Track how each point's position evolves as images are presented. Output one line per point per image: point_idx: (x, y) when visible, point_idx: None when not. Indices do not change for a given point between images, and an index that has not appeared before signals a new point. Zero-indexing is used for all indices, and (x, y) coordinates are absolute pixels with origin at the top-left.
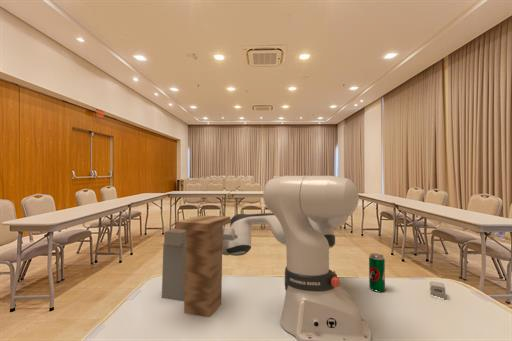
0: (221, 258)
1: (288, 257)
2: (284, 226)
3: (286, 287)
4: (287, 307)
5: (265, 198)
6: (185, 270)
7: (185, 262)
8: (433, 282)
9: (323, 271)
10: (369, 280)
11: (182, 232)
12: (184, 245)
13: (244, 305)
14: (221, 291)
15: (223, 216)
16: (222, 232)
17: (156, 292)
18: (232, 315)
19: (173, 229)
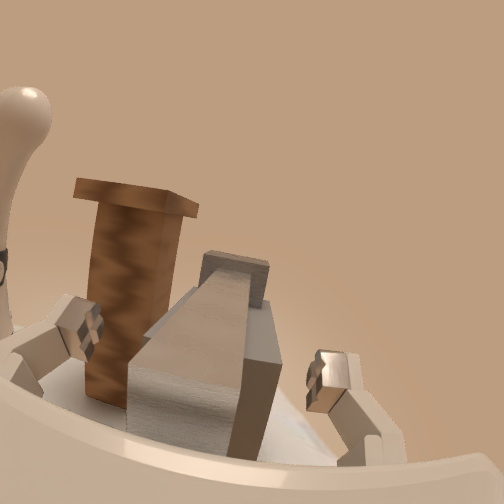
0: (89, 291)
1: (7, 229)
2: (19, 179)
3: (4, 278)
4: (6, 302)
5: (47, 133)
6: (167, 308)
7: (169, 292)
8: None
9: None
10: None
11: (211, 250)
12: (197, 287)
13: (38, 381)
14: (85, 369)
15: (96, 180)
16: (95, 223)
17: (275, 450)
18: (70, 366)
19: (267, 265)
